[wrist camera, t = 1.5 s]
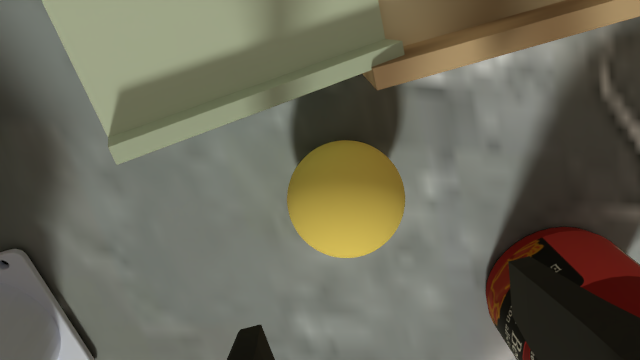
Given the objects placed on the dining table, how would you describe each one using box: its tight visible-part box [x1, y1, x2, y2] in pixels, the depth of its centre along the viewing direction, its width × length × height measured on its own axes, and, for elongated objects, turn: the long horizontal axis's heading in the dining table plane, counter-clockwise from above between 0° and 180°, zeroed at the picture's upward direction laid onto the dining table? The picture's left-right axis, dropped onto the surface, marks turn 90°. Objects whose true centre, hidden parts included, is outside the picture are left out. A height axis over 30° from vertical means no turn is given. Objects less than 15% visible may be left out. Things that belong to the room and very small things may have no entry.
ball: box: [287, 140, 405, 258], centre depth 20 cm, size 5×5×5 cm
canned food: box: [486, 227, 640, 360], centre depth 22 cm, size 8×8×11 cm
